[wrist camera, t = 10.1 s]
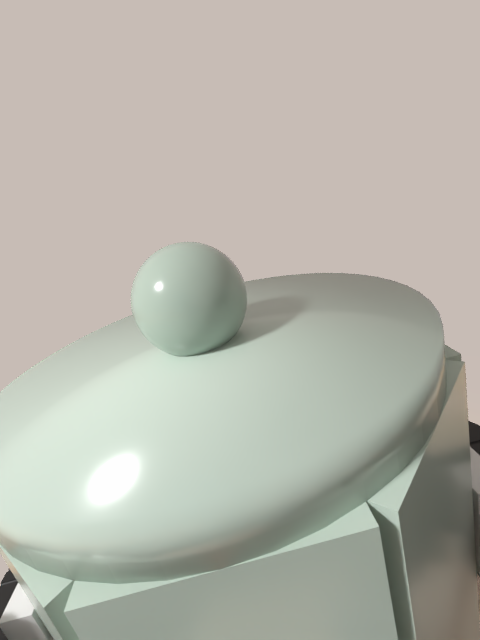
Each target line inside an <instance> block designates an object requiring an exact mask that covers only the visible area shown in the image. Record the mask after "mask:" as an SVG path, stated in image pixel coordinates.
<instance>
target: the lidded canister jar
mask: <svg viewBox="0 0 480 640" xmlns="http://www.w3.org/2000/svg"><path fill="white" fill-rule="evenodd" d="M131 308H132V313H133V315H131V316H128V317H126V318H124V319H121V320H119V321H116V322H114V323H112V324H110V325H108V326H105V327H103V328H101V329H99V330H97V331H95V332H92V333H91V334H89V335H86V336H84V337H83V338H81V339H79V340H77V341H75V342H73V343H71V344H69V345H67V346H66V347H64V348H62V349H60V350H59V351H57V352H56V353H54V354H52V355H50V356H49V357H47V358H45V359H44V360H42V361H41V362H39V363H38V364H36V365H35V366H33V367H32V368H30V369H29V370H27V371H26V372H25V373H23V374H22V375H21V376H19V377H18V378H17V379H15V380H14V381H13V382H11V383H10V384H9V385H8V386H7V387H5V388H4V389H3V390H2V391H1V392H0V554H1V556H2V557H3V559H4V560H5V562H6V563H7V565H8V567H9V568H10V570H11V572H12V573H13V575H14V577H15V578H16V580H17V581H18V583H19V585H20V586H21V588H22V589H23V591H24V593H25V594H26V596H27V597H28V599H29V601H30V602H31V604H32V605H33V607H34V609H35V610H36V612H37V613H38V615H39V617H40V618H41V620H42V621H43V623H44V625H45V626H46V628H47V629H48V631H49V633H50V634H51V636H52V637H53V639H54V640H480V614H479V597H478V580H477V563H476V545H475V528H474V511H473V494H472V476H471V459H470V442H469V425H468V408H467V390H466V373H465V362H462V361H461V354H460V353H458V352H456V351H455V350H453V349H451V348H450V347H448V346H446V345H445V344H444V331H443V324H442V321H441V318H440V314H439V312H438V310H437V309H436V308H435V306H434V305H433V304H432V302H431V301H430V300H429V299H427V298H426V297H425V296H423V295H422V294H421V293H420V292H418V291H416V290H414V289H412V288H410V287H408V286H406V285H403V284H401V283H398V282H395V281H392V280H388V279H383V278H379V277H374V276H367V275H359V274H345V273H314V274H300V275H287V276H279V277H271V278H265V279H259V280H252V281H247V282H244V280H243V277H242V275H241V273H240V271H239V270H238V268H237V267H236V265H235V264H234V263H233V262H232V261H231V260H230V259H229V258H228V257H227V256H226V255H225V254H223V253H222V252H220V251H219V250H217V249H215V248H213V247H211V246H208V245H205V244H201V243H196V242H182V243H175V244H172V245H169V246H166V247H164V248H162V249H160V250H158V251H157V252H155V253H154V254H153V255H151V256H150V257H149V258H148V259H147V260H146V261H145V262H144V264H143V265H142V266H141V268H140V269H139V271H138V272H137V274H136V277H135V279H134V282H133V286H132V291H131Z"/></svg>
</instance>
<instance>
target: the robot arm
mask: <svg viewBox="0 0 480 640" xmlns="http://www.w3.org/2000/svg"><path fill="white" fill-rule="evenodd" d="M468 425H469V442H470V459H471V476H472V494H473V511H474V528H475V545H476V563H477V574H478V575H479V576H480V426H479V425H477V424H475V423H472V422H470V421H468ZM0 640H54V639H53V637H52V636H51V634H50V633H49V631H48V629H47V628H46V626H45V625H44V623H43V621H42V620H41V618H40V617H39V615H38V613H37V612H36V610H35V609H34V607H33V605H32V604H31V602H30V601H29V599H28V597H27V596H26V594H25V593H24V591H23V589H22V588H21V586H20V585H19V583H18V581H17V580H16V578H15V577H14V575H13V573H12V572H11V570H10V568H9V571H8V572H7V573H6V574H5V577H4V578H3V580H2V582H1V586H0Z"/></svg>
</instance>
